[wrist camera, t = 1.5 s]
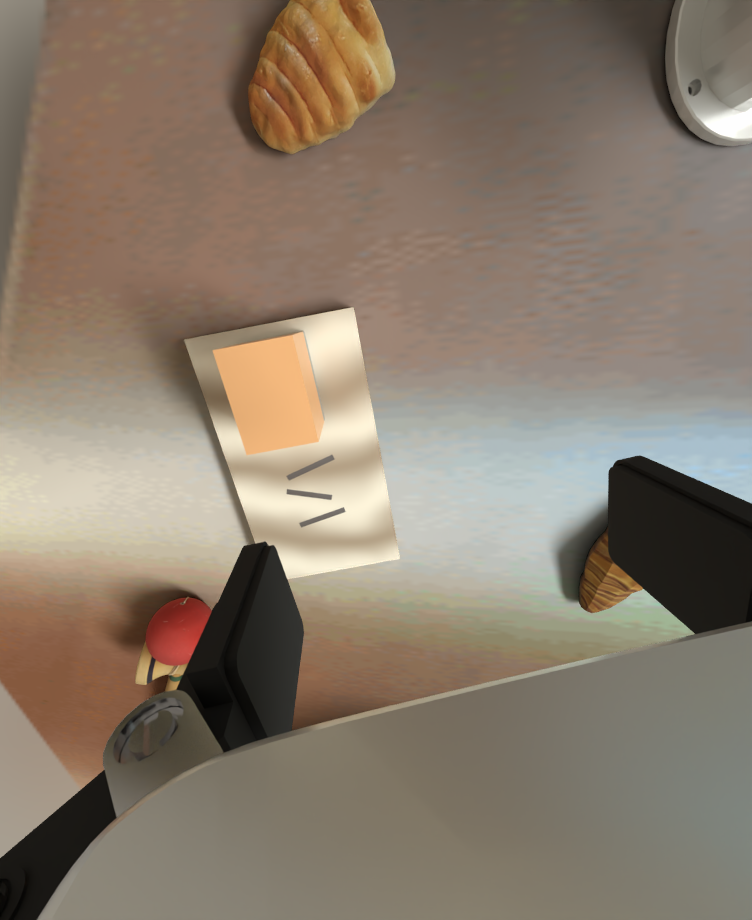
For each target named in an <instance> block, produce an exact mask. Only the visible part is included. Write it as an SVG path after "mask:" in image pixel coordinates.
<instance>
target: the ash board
mask: <svg viewBox="0 0 752 920" xmlns="http://www.w3.org/2000/svg"><path fill="white" fill-rule="evenodd" d="M302 331H304V332H305V336H306V340H307V344H308V349H309V353H310V357H311V361H312V366H313V370H314V374H315V378H316V383H317V387H318V391H319V395H320V400H321V404H322V408H323V413H324V417H325V421H324V425H323V428H322V432H321V436H320V439H319V442H315V443H310V444H305V445H299V446H294V447H289V448H283V449H278V450H273V451H267V452H262V453H257V454H251V455H246V452H245V449H244V446H243V443H242V439H241V436H240V433H239V430H238V427H237V424H236V421H235V418H234V415H233V412H232V409H231V406H230V403H229V400H228V397H227V394H226V390H225V387H224V384H223V381H222V378H221V375H220V372H219V369H218V366H217V363H216V360H215V357H214V354H213V351H212V350H216V349H220V348H223V347H227V346H231V345H235V344H239V343H244V342H250V341H255V340H260V339H265V338H270V337H276V336H281V335H286V334H291V333H297V332H302ZM184 341H185V344H186V347H187V350H188V353H189V356H190V359H191V361H192V364H193V367H194V370H195V373H196V376H197V378H198V381H199V384H200V387H201V390H202V393H203V396H204V398H205V401H206V404H207V407H208V410H209V413H210V416H211V418H212V421H213V424H214V427H215V430H216V433H217V436H218V438H219V441H220V444H221V447H222V450H223V453H224V456H225V458H226V461H227V464H228V467H229V470H230V473H231V476H232V478H233V481H234V484H235V487H236V490H237V493H238V496H239V498H240V501H241V504H242V507H243V510H244V513H245V516H246V518H247V521H248V524H249V527H250V530H251V533H252V536H253V538H254V541H255V544H256V543H260V542H264V541H265V542H267V544H268V545H269V546H271V545H274V546H275V547H276V550H277V552H278V555H279V558H280V561H281V563H282V566H283V569H284V572H285V575H286V577H287V579H292V578H297V577H303V576H308V575H313V574H319V573H324V572H330V571H335V570H341V569H346V568H352V567H357V566H363V565H368V564H374V563H379V562H385V561H390V560H396V559H400V556H399V551H398V545H397V540H396V534H395V529H394V524H393V518H392V513H391V507H390V502H389V497H388V491H387V486H386V480H385V475H384V469H383V464H382V459H381V453H380V448H379V442H378V437H377V432H376V426H375V421H374V415H373V410H372V405H371V399H370V394H369V388H368V383H367V377H366V372H365V367H364V361H363V356H362V350H361V345H360V340H359V334H358V329H357V323H356V318H355V313H354V307H352V308H347V309H341V310H336V311H331V312H326V313H320V314H315V315H310V316H305V317H299V318H294V319H289V320H284V321H278V322H273V323H268V324H263V325H258V326H252V327H247V328H242V329H237V330H231V331H226V332H221V333H216V334H210V335H205V336H200V337H195V338H190V339H184Z"/></svg>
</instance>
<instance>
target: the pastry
mask: <svg viewBox="0 0 752 920" xmlns="http://www.w3.org/2000/svg"><path fill="white" fill-rule="evenodd" d="M394 82H395V70H394V65H393V60H392V55H391V52H390V49H389V48H388V46H387V44H386V40H385V37H384V32H383V29H382V26H381V23H380V22H379V19H378V17H377V15H376V13H375V10H374V8H373V6H372V4H371V2H370V0H290V1H289V3H288V5H287V7H286V8H285V9H284V10H282V11H281V13H280V14H279V15H278V17H277V18H276V20H275V23H274V25H273V27H272V28H271V30H270V31H269V32H268V34H267V37H266V41H265V45H264V46H263V48H262V50H261V52H260V59H259V62H258V65H257V69H256V71H255V73H254V76H253V78H252V80H251V82H250V84H249V89H248V99H249V108H250V114H251V120H252V123H253V126H254V128H255V129H256V131H257V133H258V134H259V136H260V137H261V138H262V139H263V140H264V142H265V143H266V144H267V145H268V146H269V147H271V148H273V149H276V150H280V151H283V152H286V153H289V154H295V153H297V152H298V151H300V150H304V149H306V148H308V147H309V146H316V145H320V144H321V143H323V142H324V141H326V140H328V139H335V138H337V137H338V135H339V134H341V133H343V132H346V131H347V130H349V129H350V128H351V127H352V126H353V124H354V122H355V120H356V119H357V118H358V117H359V116H361V115H363V114H364V113H365V112H366V111H368V110H369V109H370V108H371V107H372V106H373V105H374V104H375V103H376V102H377V100H378V99H379V98H380V97H381V96H382V95H384V94H386V93H387V92H389V91H390V90H391V89H392V87H393V85H394Z"/></svg>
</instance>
